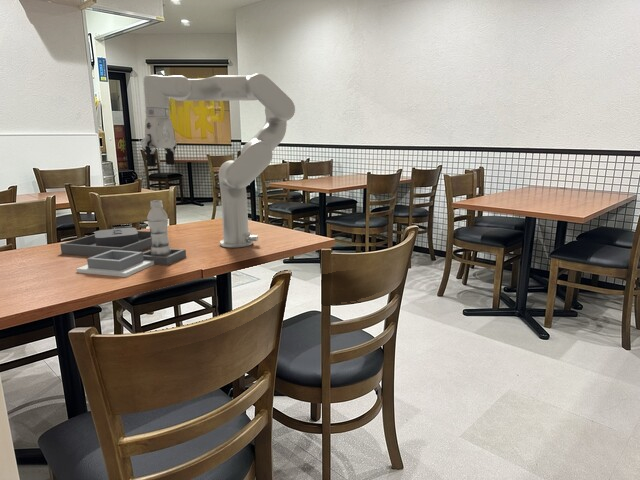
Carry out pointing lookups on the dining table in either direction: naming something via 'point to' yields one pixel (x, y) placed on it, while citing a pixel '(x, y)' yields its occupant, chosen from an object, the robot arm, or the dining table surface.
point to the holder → (160, 260)
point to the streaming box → (116, 237)
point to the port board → (116, 263)
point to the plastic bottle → (158, 229)
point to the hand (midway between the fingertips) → (161, 165)
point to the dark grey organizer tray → (90, 249)
